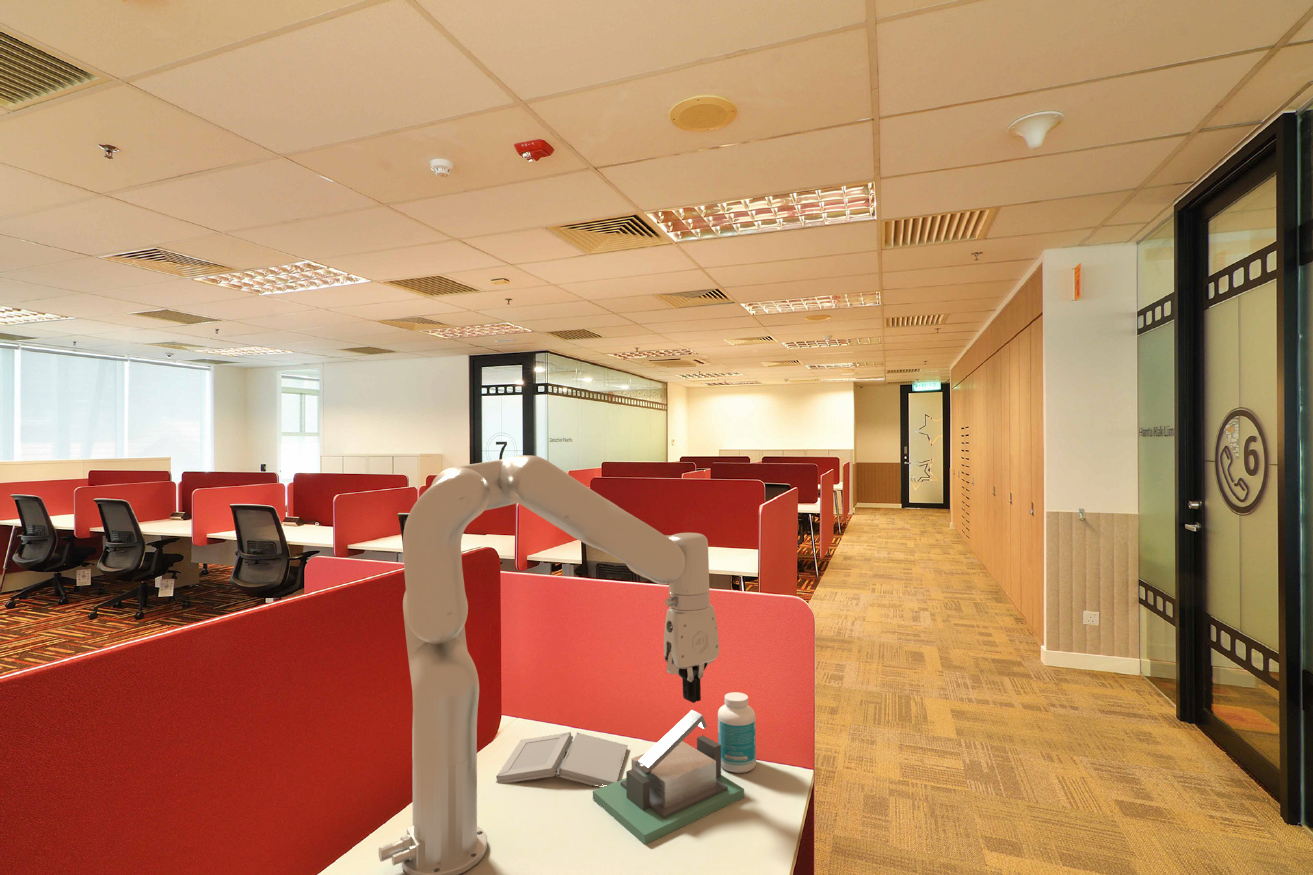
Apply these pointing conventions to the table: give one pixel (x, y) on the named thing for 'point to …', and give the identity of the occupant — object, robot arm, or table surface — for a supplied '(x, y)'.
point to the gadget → (565, 759)
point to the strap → (670, 741)
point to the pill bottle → (737, 734)
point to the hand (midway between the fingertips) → (691, 699)
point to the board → (653, 821)
